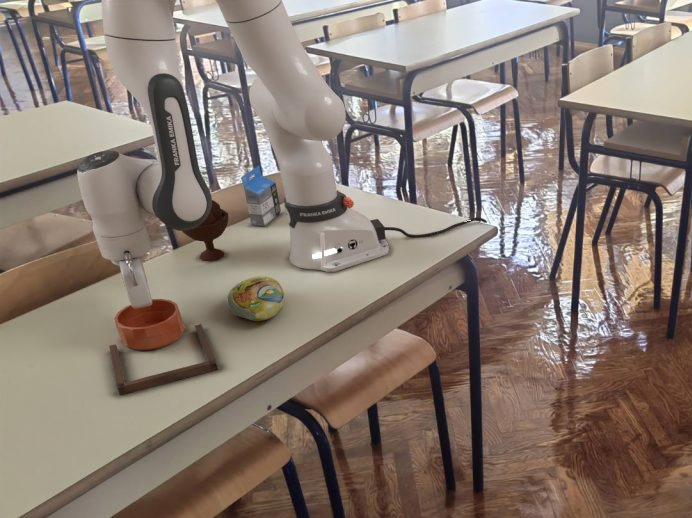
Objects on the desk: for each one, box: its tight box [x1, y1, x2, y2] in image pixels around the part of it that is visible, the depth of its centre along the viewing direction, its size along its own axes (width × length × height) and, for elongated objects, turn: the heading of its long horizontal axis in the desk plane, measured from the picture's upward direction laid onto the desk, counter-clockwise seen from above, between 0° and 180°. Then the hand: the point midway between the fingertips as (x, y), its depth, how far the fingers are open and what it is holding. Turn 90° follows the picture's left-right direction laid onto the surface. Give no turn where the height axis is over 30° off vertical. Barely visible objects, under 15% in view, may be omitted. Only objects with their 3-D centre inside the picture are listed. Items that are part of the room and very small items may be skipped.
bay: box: [108, 323, 219, 396], centre depth 138 cm, size 16×15×2 cm
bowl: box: [114, 298, 185, 351], centre depth 144 cm, size 11×11×5 cm
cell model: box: [227, 275, 285, 322], centre depth 152 cm, size 11×8×15 cm
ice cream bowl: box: [181, 199, 230, 263], centre depth 169 cm, size 11×11×15 cm
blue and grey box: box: [240, 165, 282, 227], centre depth 187 cm, size 9×4×12 cm, turn 167°
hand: (144, 307), depth 149 cm, fingers closed
